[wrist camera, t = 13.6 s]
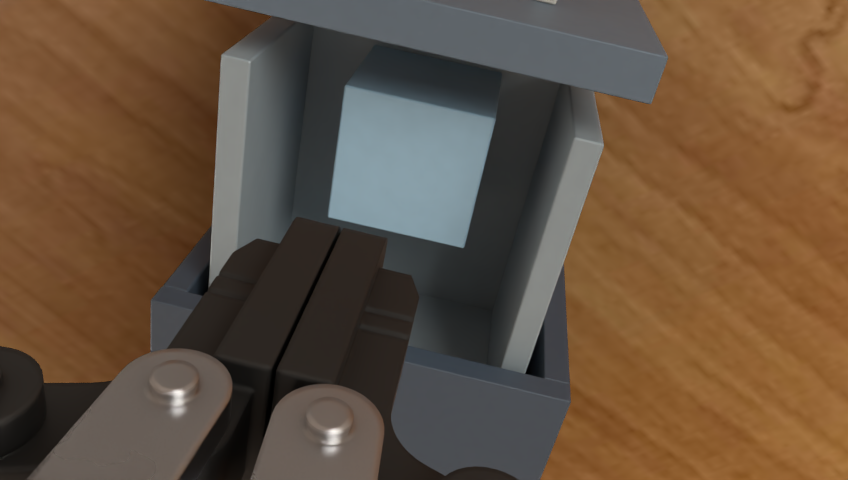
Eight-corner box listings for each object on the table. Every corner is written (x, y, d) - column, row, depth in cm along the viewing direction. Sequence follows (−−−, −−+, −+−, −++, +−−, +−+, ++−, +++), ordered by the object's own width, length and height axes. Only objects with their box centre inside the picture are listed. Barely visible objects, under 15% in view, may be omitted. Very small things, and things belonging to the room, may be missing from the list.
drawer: (304, -243, 22) (200, -269, 15) (681, -158, 22) (743, -146, 15) (257, 255, 31) (179, 376, 24) (524, 319, 31) (520, 459, 24)
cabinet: (257, 166, 30) (150, 299, 22) (562, 239, 30) (571, 401, 22) (235, 425, 37) (148, 598, 29) (479, 485, 37) (462, 676, 29)
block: (356, 161, 27) (326, 218, 23) (373, 43, 25) (344, 84, 21) (474, 188, 27) (463, 249, 23) (502, 72, 25) (496, 118, 21)
